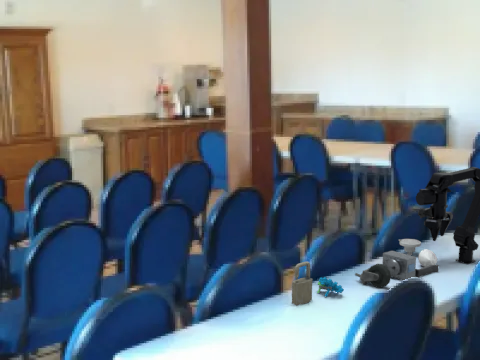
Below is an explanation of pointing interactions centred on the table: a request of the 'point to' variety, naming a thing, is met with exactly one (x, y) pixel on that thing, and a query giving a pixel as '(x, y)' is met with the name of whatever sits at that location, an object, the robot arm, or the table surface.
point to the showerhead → (410, 245)
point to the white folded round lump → (427, 258)
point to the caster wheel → (375, 275)
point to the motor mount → (405, 266)
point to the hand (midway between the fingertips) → (438, 238)
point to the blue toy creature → (329, 286)
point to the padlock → (302, 286)
